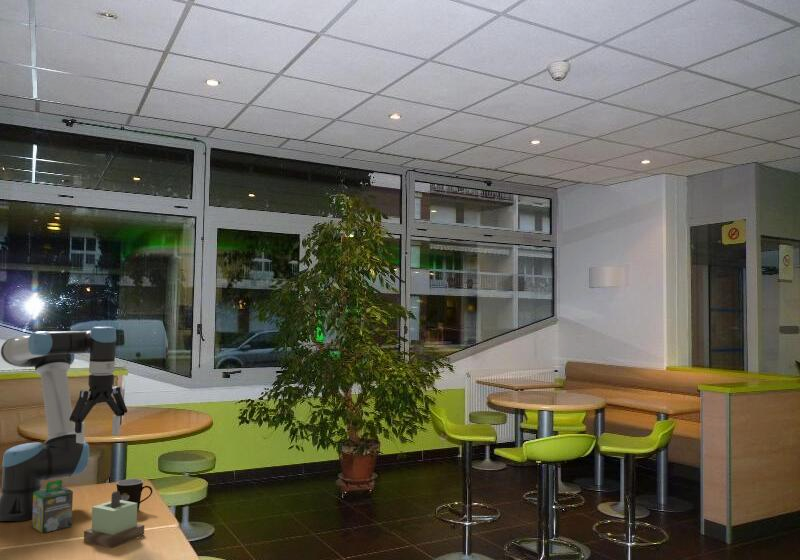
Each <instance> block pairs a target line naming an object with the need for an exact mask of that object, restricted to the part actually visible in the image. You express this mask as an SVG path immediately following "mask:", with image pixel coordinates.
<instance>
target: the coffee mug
mask: <svg viewBox="0 0 800 560" xmlns="http://www.w3.org/2000/svg"><path fill="white" fill-rule="evenodd" d="M143 485H144V480H143V479H140V478H128V479H127V478H126V479H123V480H122V479H121V480H119V481H117V482H116V491H118V492H119V493H120V500H124V501H129V502H134V503H137V511H138V510H139V511H140V505H141V504H142V503H143V502H145V501H146V500H147V499H149V498H150V497H151V496H152V495H153V488H152V487H151V486H149V485H144V486H143ZM145 488H148V489H149V491H150V494H149V495H148V496H147V497H145V498H144V499H142V497H141V496H142V492H143V490H144V489H145ZM141 499H142V500H141ZM139 511H138V512H139Z"/></svg>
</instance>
